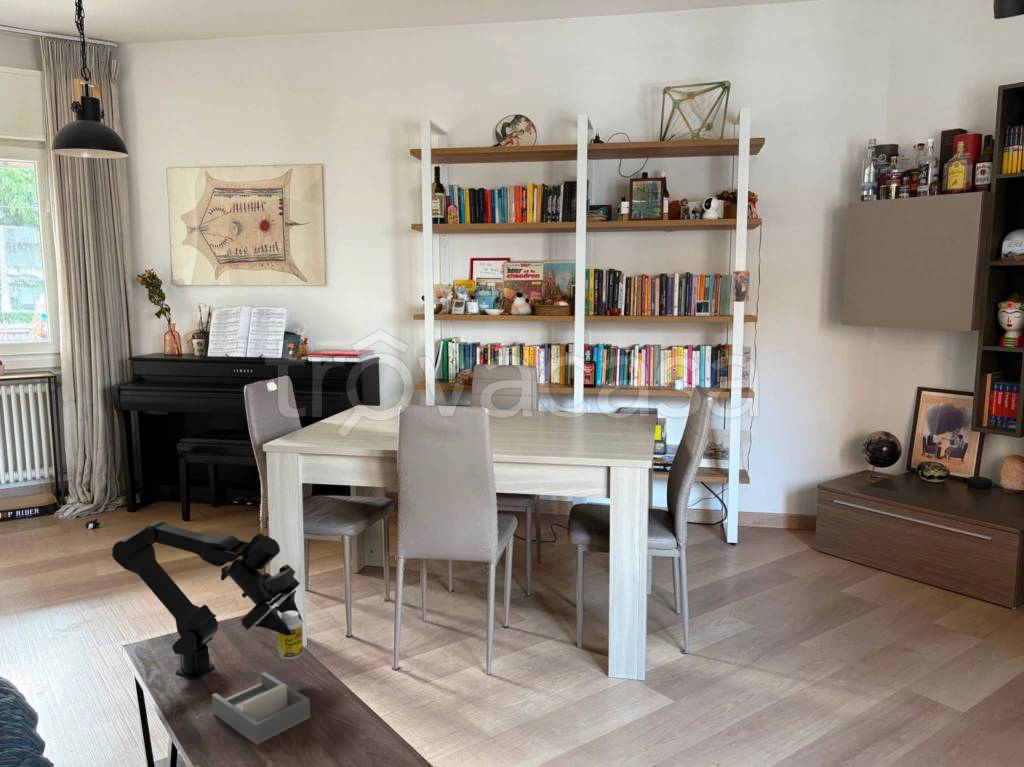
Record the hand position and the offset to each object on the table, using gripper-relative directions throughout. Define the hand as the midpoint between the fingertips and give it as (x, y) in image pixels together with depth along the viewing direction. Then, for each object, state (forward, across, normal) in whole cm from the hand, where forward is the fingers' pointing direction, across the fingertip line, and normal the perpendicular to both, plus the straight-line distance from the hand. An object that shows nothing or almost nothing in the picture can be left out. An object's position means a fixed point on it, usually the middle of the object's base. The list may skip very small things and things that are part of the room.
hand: (295, 628), depth 177 cm
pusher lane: (+8, -15, +10) cm, 20 cm away
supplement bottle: (+4, 0, +6) cm, 7 cm away
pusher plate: (+9, -16, +8) cm, 20 cm away
